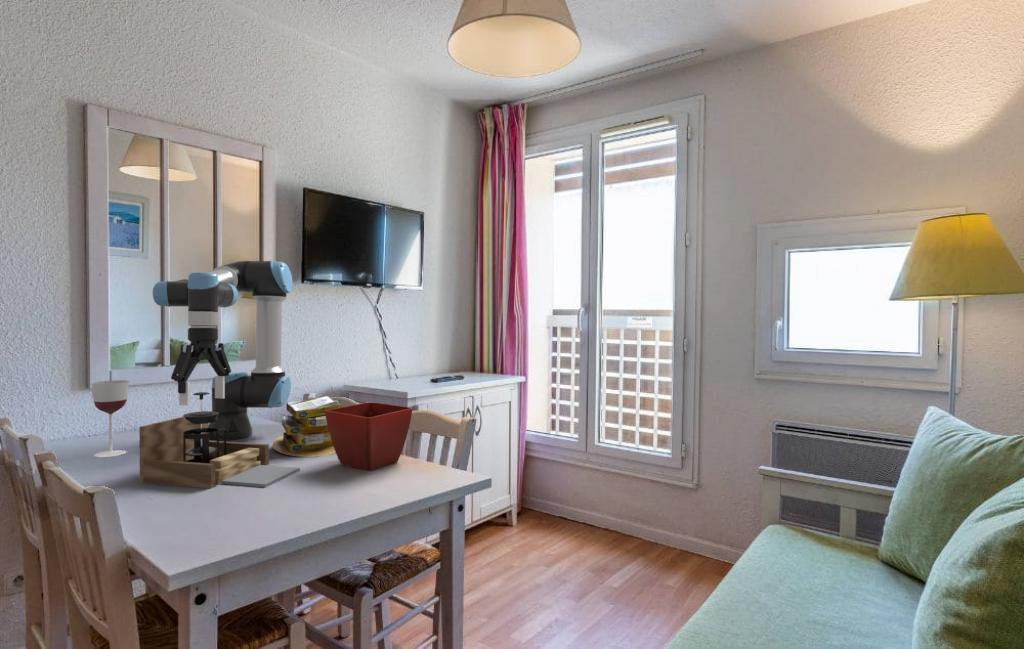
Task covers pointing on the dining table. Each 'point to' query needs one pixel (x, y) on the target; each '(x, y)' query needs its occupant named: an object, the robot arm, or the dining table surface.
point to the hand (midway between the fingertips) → (202, 401)
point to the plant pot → (368, 433)
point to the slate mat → (261, 476)
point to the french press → (202, 435)
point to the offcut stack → (235, 463)
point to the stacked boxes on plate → (306, 428)
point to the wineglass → (110, 405)
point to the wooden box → (166, 455)
